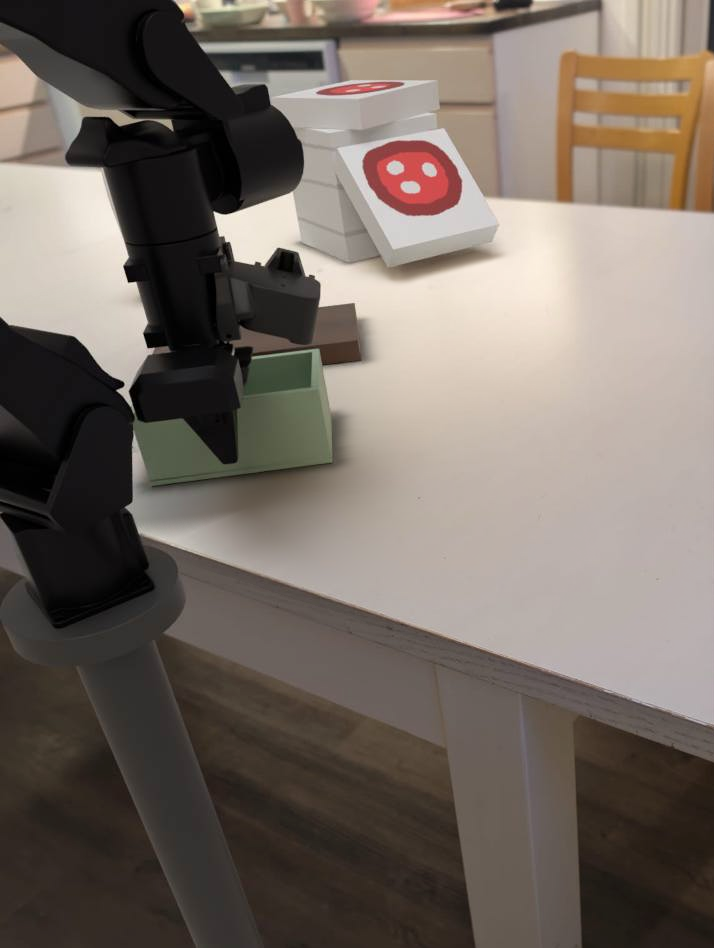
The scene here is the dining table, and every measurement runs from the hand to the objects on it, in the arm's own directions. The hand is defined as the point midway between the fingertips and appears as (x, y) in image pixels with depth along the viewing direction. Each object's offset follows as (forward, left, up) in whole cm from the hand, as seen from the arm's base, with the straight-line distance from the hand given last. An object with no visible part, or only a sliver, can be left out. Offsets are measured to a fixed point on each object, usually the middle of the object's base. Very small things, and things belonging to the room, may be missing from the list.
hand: (230, 461), depth 68 cm
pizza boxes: (+47, +50, -3) cm, 69 cm away
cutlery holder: (+4, +7, -3) cm, 9 cm away
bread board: (+16, +28, -3) cm, 32 cm away
